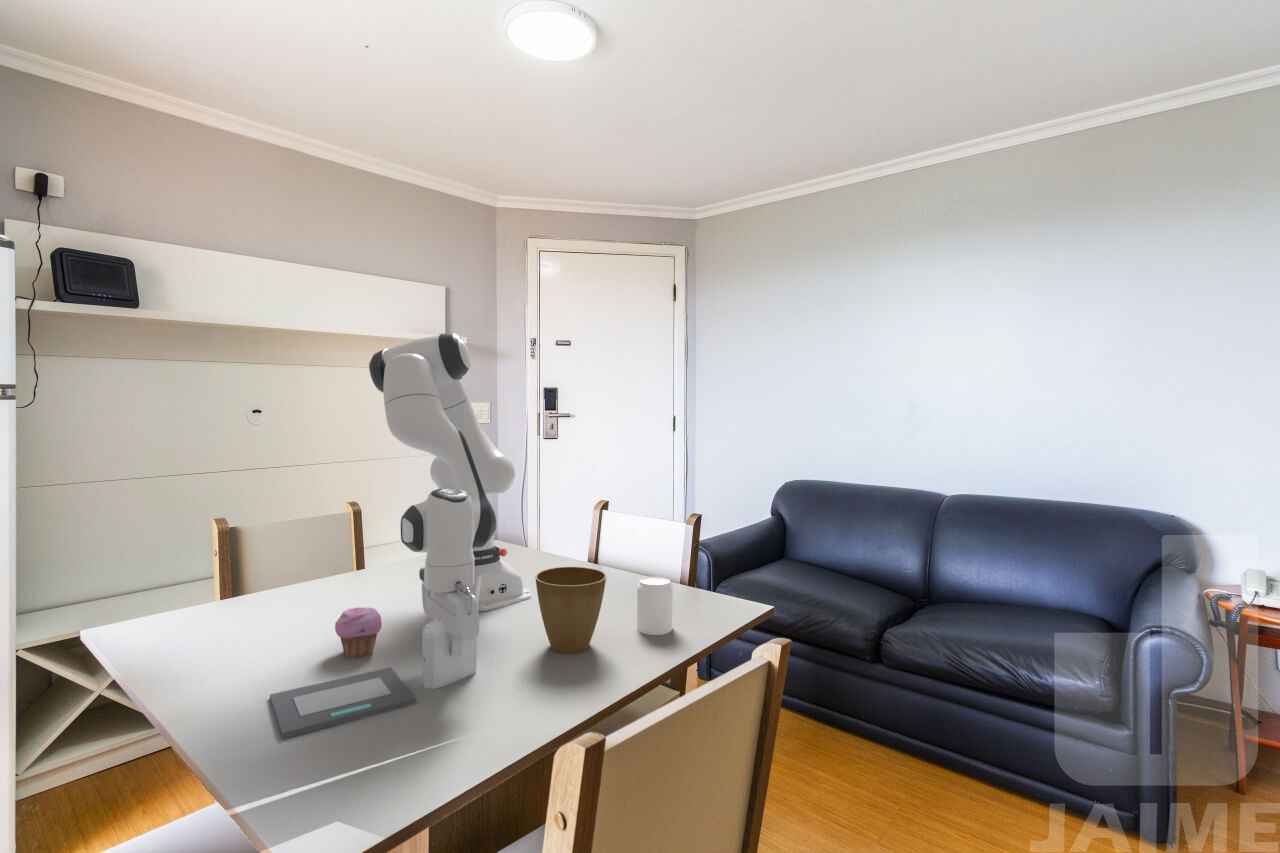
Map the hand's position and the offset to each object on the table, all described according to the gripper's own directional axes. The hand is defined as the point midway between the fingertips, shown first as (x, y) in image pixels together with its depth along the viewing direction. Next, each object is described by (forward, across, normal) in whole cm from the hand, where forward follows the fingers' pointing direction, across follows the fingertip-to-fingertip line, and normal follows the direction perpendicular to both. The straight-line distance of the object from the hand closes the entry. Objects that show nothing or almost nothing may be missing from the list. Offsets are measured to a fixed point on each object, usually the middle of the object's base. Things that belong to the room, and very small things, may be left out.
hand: (449, 650), depth 116 cm
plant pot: (+6, 0, -26) cm, 27 cm away
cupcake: (+6, +22, +11) cm, 25 cm away
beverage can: (+6, -2, -47) cm, 47 cm away
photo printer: (+6, 0, 0) cm, 6 cm away
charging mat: (+6, +2, +18) cm, 19 cm away
